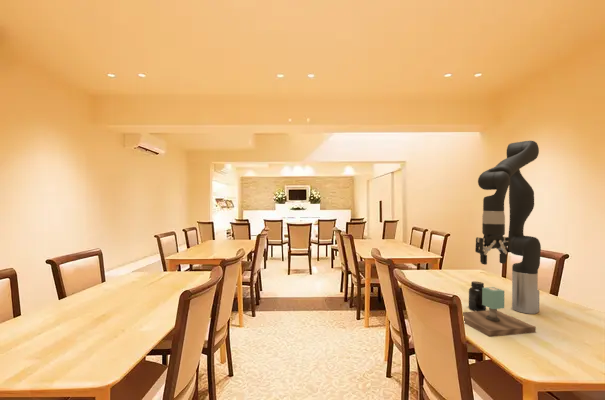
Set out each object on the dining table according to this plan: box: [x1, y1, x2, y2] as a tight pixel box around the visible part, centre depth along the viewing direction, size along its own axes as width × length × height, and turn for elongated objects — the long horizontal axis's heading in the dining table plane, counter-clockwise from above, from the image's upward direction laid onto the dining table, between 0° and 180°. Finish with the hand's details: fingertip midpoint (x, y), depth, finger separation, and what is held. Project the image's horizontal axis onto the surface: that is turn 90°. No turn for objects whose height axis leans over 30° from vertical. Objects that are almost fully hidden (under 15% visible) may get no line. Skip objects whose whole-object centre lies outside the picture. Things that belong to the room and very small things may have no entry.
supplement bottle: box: [468, 280, 487, 312], centre depth 137 cm, size 7×7×12 cm
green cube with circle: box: [482, 286, 505, 310], centre depth 120 cm, size 5×5×7 cm
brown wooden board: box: [463, 307, 537, 337], centre depth 120 cm, size 20×18×9 cm
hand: (493, 263), depth 120 cm, fingers open, 8 cm apart
